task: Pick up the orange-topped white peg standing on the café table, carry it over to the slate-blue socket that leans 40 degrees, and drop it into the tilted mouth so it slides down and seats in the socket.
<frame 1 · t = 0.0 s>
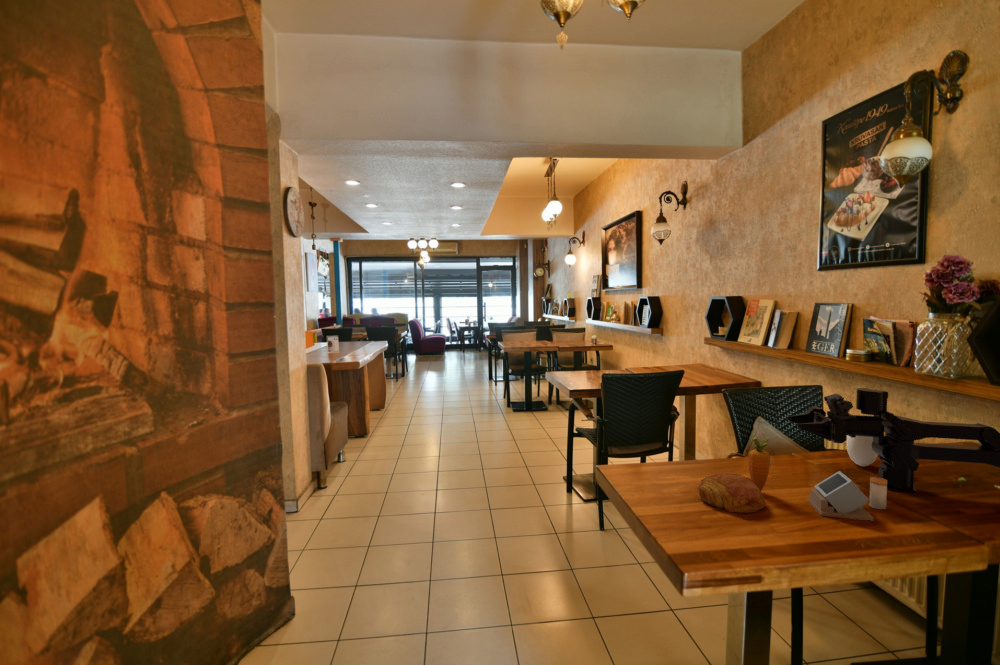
hand: (792, 422, 132), 17 cm above the table, tool horizontal, fingers open, 9 cm apart
carrot: (758, 492, 123), on the table
orange-topped white peg: (877, 506, 113), on the table
sauce bottle: (861, 466, 143), on the table
leaning socket: (848, 511, 111), on the table
croissant: (732, 503, 117), on the table
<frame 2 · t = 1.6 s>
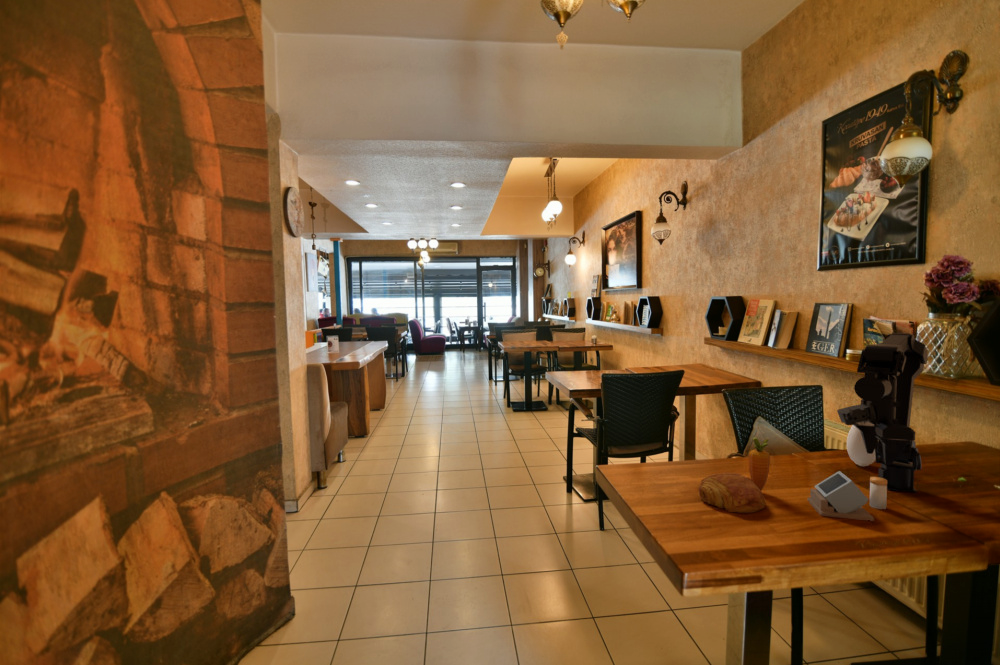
hand: (878, 458, 113), 12 cm above the table, tool pointing down, fingers open, 9 cm apart
nothing on the table moved.
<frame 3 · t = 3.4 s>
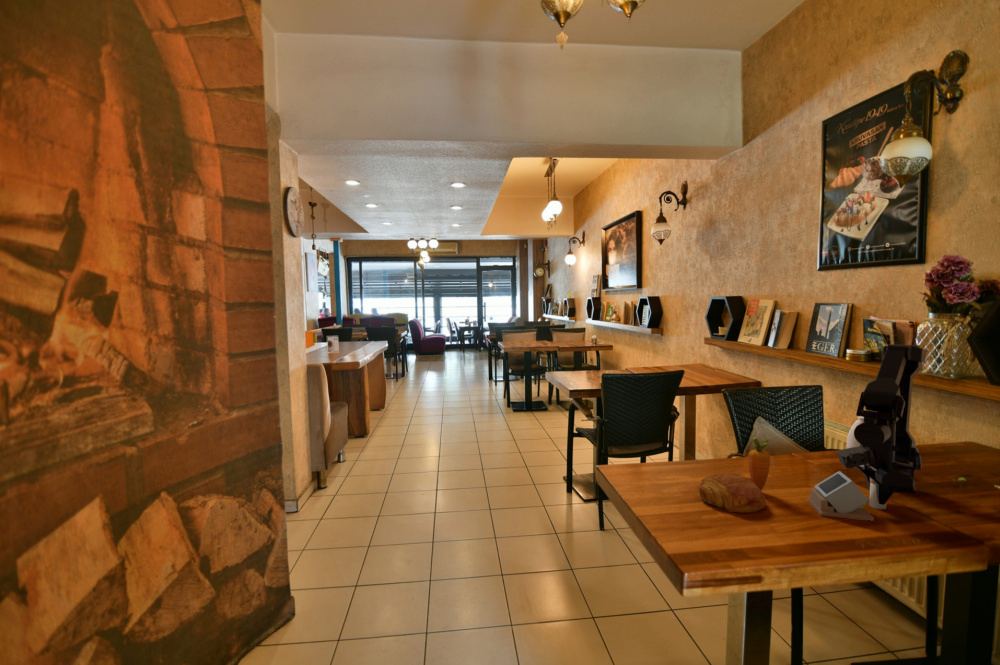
hand: (877, 501, 113), 1 cm above the table, tool pointing down, fingers closed on orange-topped white peg, 3 cm apart
orange-topped white peg: (877, 506, 113), on the table, touching gripper
everything else where it was.
when the fingers open (8 cm above the table, at t = 6.9 s): orange-topped white peg drops 4 cm and tips over, resting on leaning socket.
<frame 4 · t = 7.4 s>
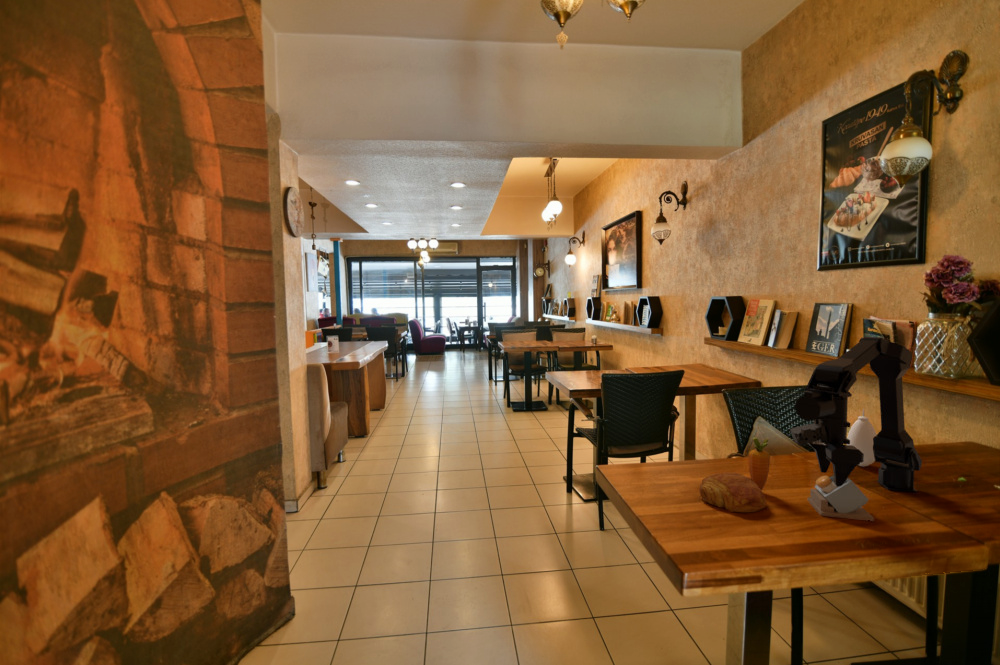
hand: (830, 478, 112), 8 cm above the table, tool pointing down, fingers open, 9 cm apart
orange-topped white peg: (843, 503, 111), point 2 cm above the table, tilted 41°, touching leaning socket
everything else where it was.
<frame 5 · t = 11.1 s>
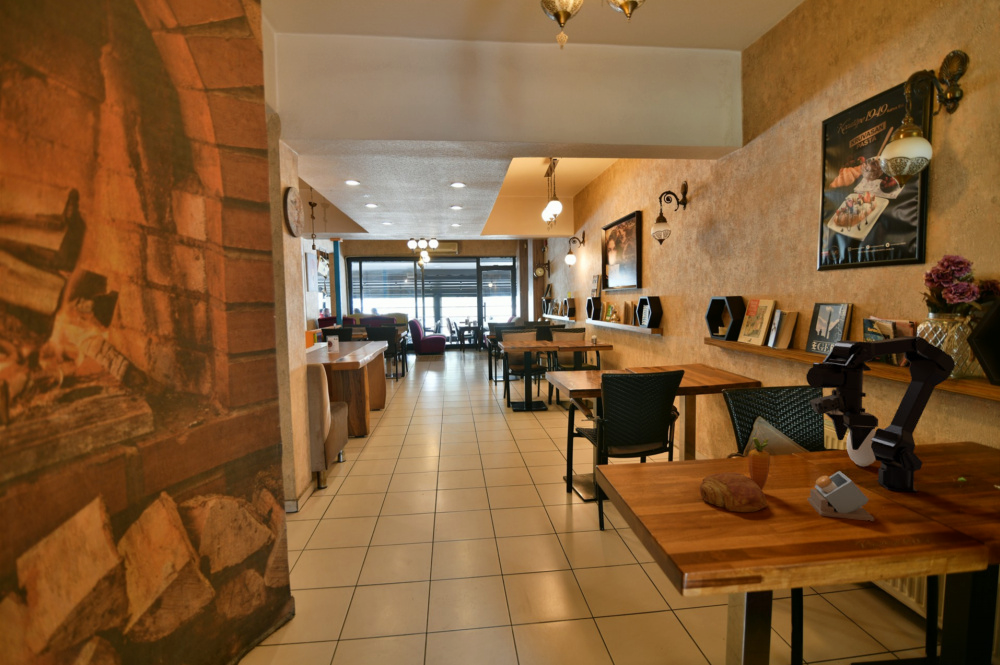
hand: (847, 444, 123), 13 cm above the table, tool pointing down, fingers open, 9 cm apart
nothing on the table moved.
at the end: orange-topped white peg 0.6 cm off-centre on the leaning socket, point 1.9 cm above the leaning socket's base; orange-topped white peg tilted 41°; the gripper is holding nothing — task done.
